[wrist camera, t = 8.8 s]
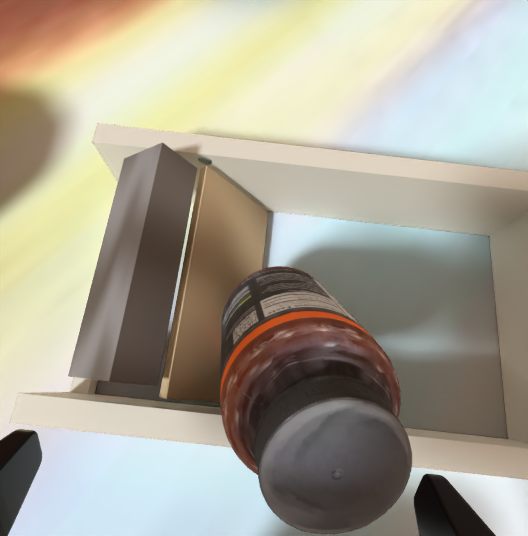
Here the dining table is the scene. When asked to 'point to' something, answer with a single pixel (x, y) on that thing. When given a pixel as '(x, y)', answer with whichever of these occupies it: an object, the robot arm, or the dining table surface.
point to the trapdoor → (167, 276)
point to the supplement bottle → (310, 404)
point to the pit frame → (346, 208)
